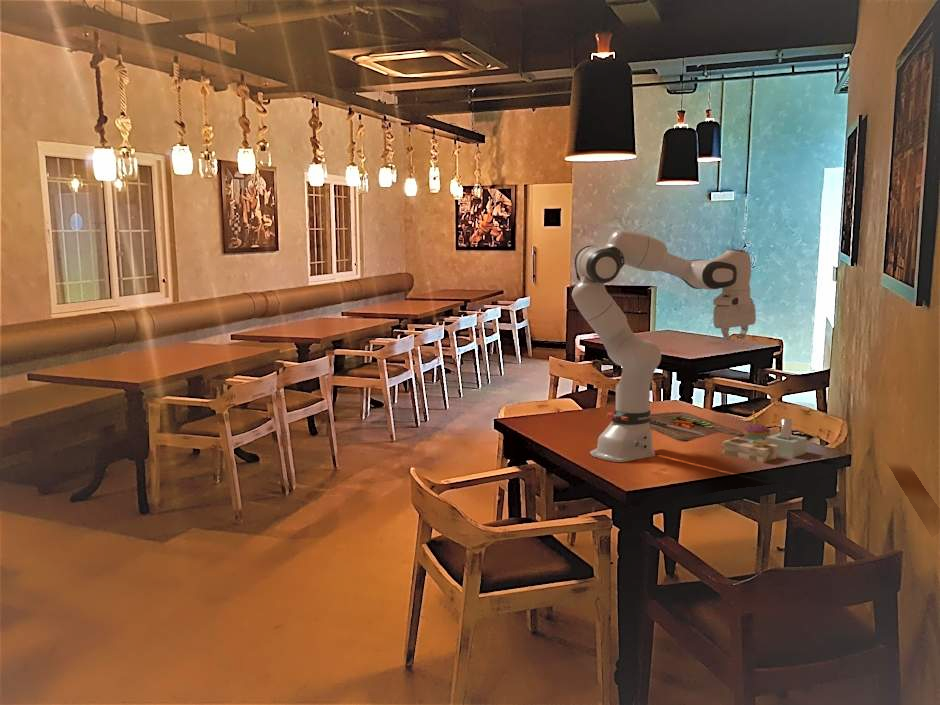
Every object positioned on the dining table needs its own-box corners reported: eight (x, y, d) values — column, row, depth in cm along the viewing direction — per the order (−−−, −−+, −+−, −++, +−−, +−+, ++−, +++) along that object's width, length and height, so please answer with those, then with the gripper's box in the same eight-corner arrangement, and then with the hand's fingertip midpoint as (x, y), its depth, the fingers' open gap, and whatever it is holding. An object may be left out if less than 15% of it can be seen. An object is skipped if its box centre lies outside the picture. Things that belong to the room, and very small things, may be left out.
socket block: (762, 465, 232) (763, 450, 231) (721, 456, 243) (722, 441, 242) (777, 460, 238) (778, 445, 237) (736, 451, 249) (737, 436, 248)
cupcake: (737, 442, 260) (738, 408, 259) (757, 440, 263) (759, 406, 261) (754, 448, 252) (755, 413, 251) (774, 445, 255) (776, 411, 253)
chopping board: (751, 438, 267) (751, 430, 267) (687, 445, 259) (687, 437, 259) (679, 413, 310) (680, 406, 309) (622, 418, 302) (622, 411, 301)
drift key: (762, 461, 235) (762, 443, 234) (751, 459, 237) (752, 441, 237) (768, 459, 237) (769, 441, 236) (758, 456, 240) (759, 439, 239)
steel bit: (788, 454, 241) (788, 421, 239) (778, 452, 243) (779, 419, 242) (792, 452, 243) (793, 419, 241) (783, 450, 245) (784, 417, 244)
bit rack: (792, 460, 237) (793, 442, 236) (765, 455, 244) (766, 437, 243) (806, 455, 243) (807, 437, 242) (779, 450, 249) (780, 432, 249)
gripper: (744, 296, 255) (742, 336, 257) (710, 299, 242) (709, 341, 244) (761, 297, 250) (759, 338, 252) (727, 300, 237) (726, 343, 239)
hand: (734, 340), depth 248 cm, fingers open, 8 cm apart
